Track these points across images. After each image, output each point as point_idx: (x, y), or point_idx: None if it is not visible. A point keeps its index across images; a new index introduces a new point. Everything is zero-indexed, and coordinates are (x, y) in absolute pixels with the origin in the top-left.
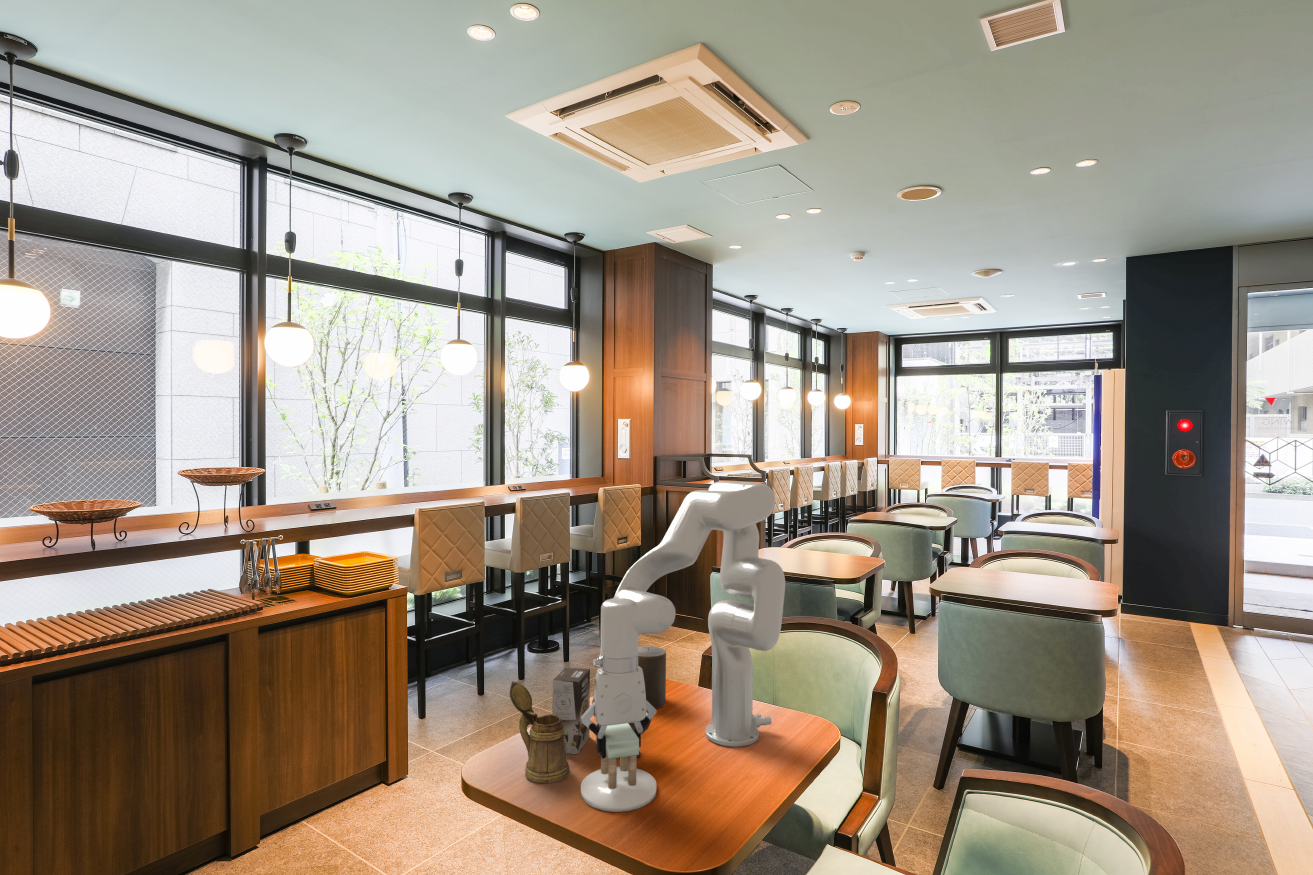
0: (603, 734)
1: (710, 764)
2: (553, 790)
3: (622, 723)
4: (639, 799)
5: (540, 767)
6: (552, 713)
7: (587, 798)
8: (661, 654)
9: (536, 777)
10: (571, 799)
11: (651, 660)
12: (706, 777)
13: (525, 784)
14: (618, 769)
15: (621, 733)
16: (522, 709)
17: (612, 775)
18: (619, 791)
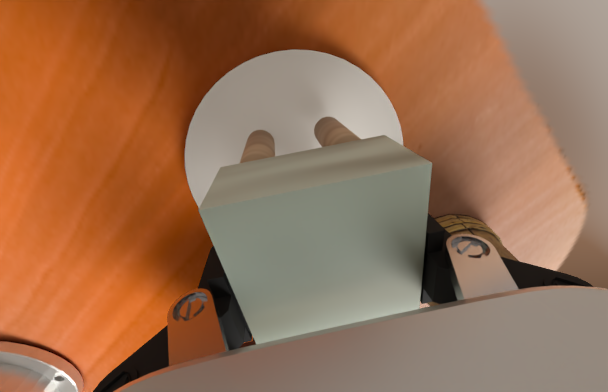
0: (451, 253)
1: (42, 272)
2: (450, 184)
3: (351, 323)
4: (239, 80)
5: (492, 239)
6: None
7: (394, 113)
8: None
9: (483, 224)
10: (421, 139)
11: None
12: (39, 214)
13: (497, 212)
14: None
15: (318, 284)
16: None
17: (339, 126)
18: (300, 139)
